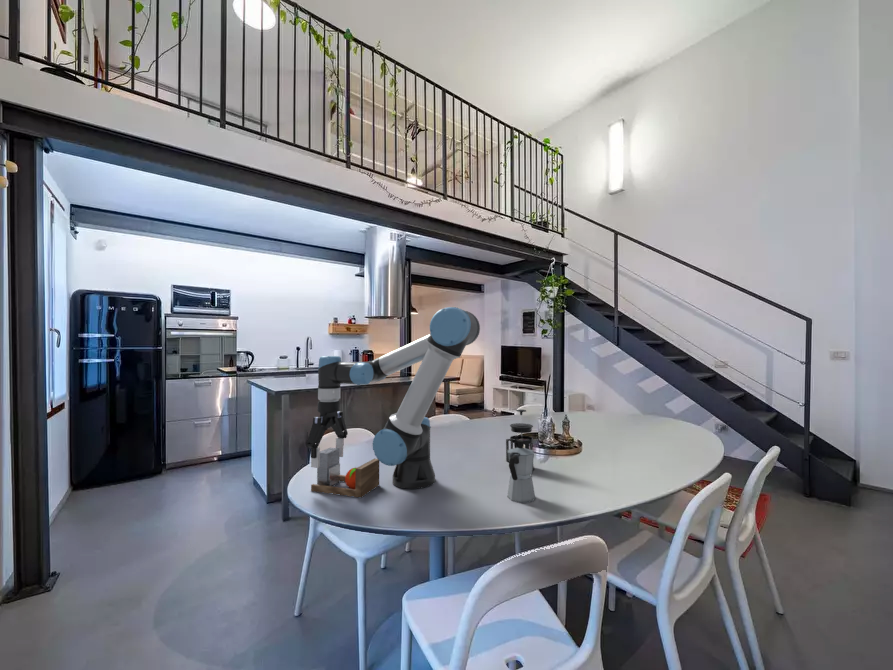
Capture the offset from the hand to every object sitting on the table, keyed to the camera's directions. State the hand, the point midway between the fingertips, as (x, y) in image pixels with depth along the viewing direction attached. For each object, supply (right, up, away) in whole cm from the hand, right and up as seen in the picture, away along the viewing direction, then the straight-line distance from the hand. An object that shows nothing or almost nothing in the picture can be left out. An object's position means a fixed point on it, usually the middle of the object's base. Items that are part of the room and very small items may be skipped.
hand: (327, 461), depth 133 cm
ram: (0, -8, 0) cm, 8 cm away
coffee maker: (+64, -8, -13) cm, 66 cm away
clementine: (+10, -8, -4) cm, 14 cm away
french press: (+71, -9, +18) cm, 73 cm away
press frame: (+7, -8, -3) cm, 11 cm away
